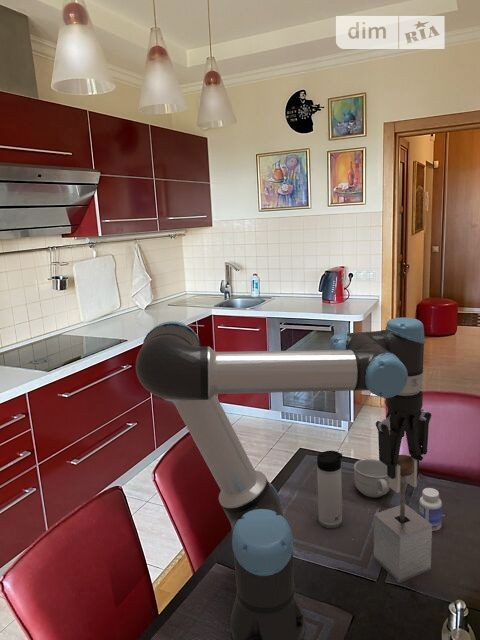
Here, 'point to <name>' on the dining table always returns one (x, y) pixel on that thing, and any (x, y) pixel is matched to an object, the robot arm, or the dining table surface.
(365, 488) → the teacup
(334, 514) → the travel mug
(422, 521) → the grey block with hole
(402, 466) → the plunger
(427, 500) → the pill bottle
